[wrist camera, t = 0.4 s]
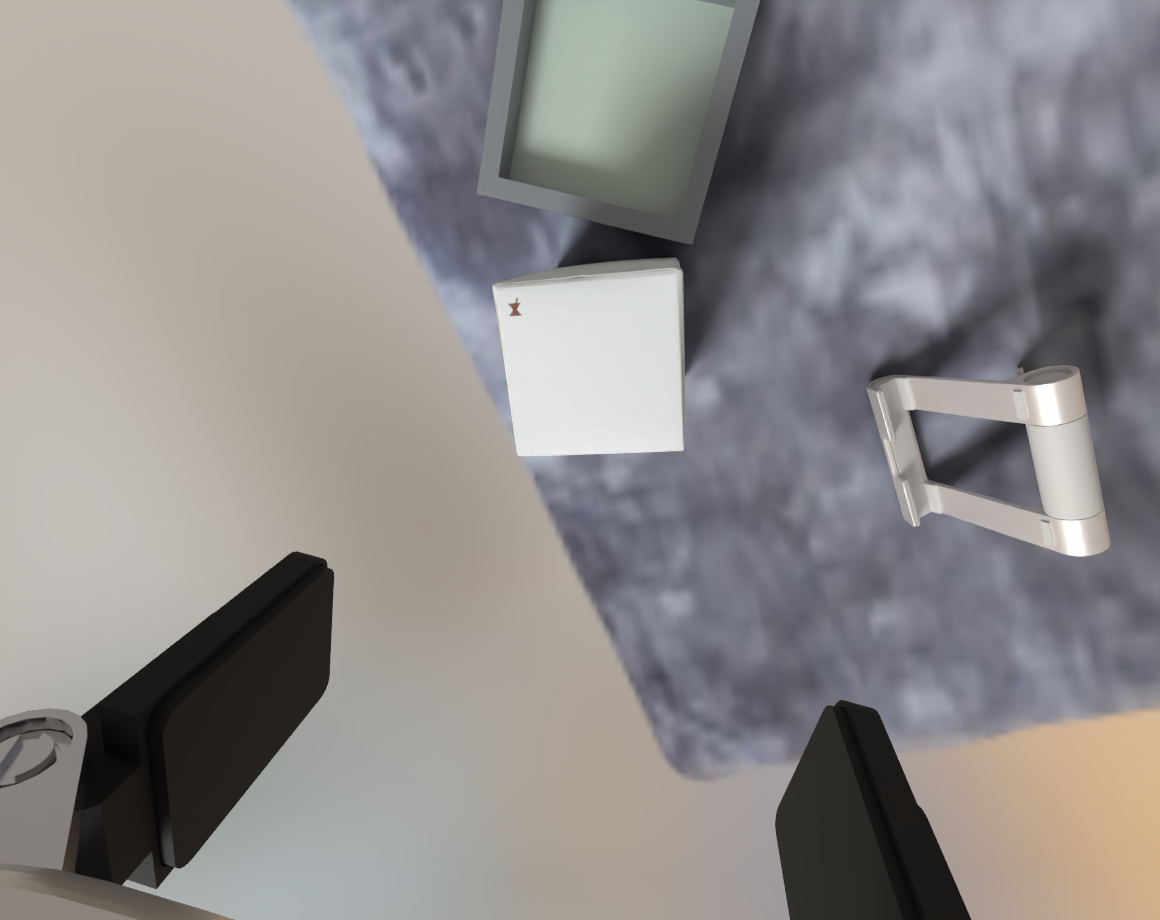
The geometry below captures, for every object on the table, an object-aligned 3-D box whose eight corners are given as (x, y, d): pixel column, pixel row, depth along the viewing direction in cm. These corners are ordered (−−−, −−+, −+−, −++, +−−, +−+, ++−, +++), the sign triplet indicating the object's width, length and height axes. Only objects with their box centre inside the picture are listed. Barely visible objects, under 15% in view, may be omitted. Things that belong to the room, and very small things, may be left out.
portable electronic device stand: (861, 383, 33) (915, 426, 26) (1014, 331, 31) (1123, 360, 23) (898, 512, 36) (958, 586, 28) (1043, 471, 33) (1152, 541, 26)
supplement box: (565, 389, 36) (509, 460, 25) (554, 265, 34) (486, 277, 22) (685, 384, 35) (686, 457, 23) (682, 254, 32) (683, 262, 21)
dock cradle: (531, -52, 29) (515, -84, 26) (760, -5, 28) (769, -32, 25) (494, 197, 33) (476, 193, 30) (691, 244, 32) (692, 245, 29)
